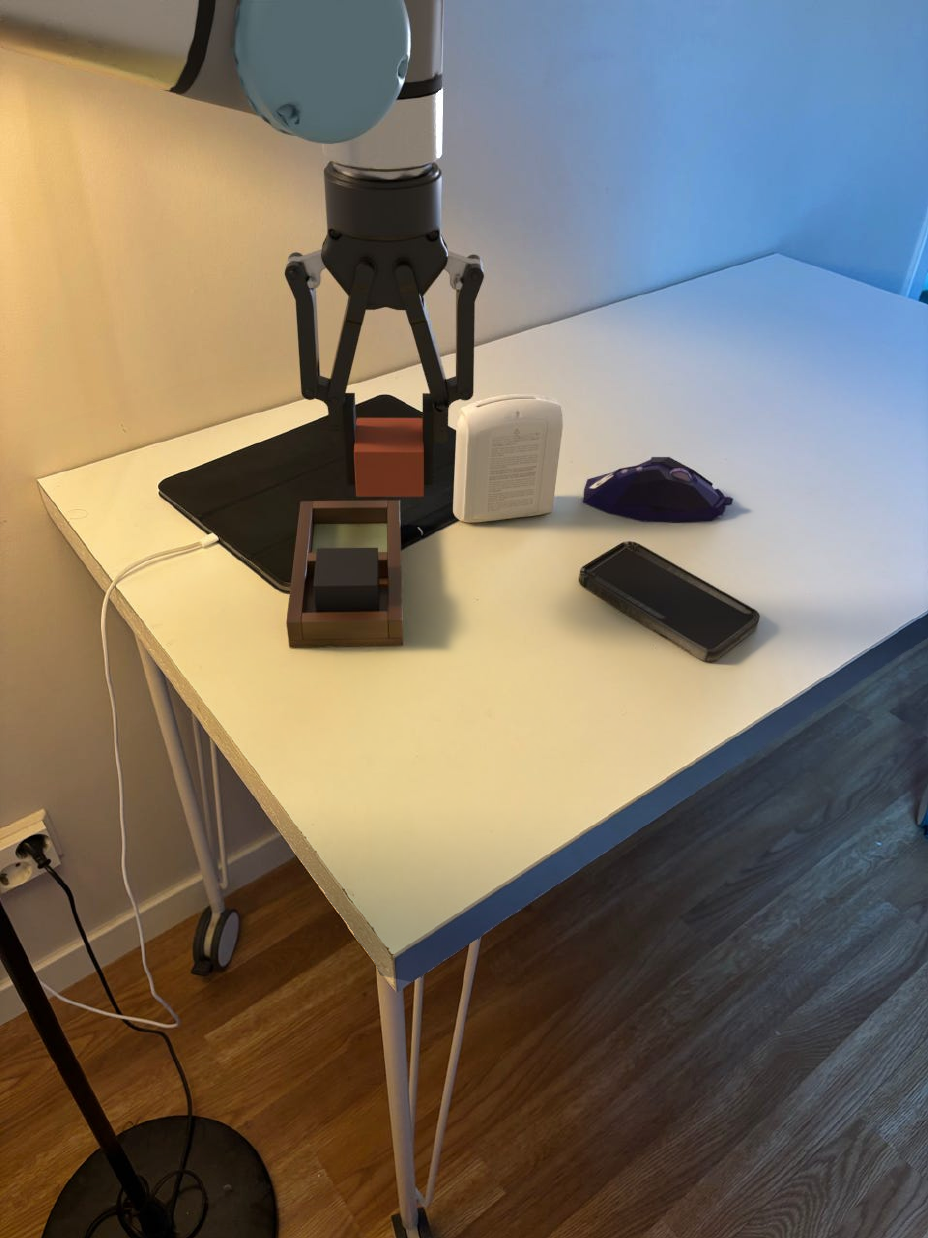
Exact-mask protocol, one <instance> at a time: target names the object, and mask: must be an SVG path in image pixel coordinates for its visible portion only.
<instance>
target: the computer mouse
mask: <svg viewBox="0 0 928 1238" xmlns="http://www.w3.org/2000/svg"><path fill="white" fill-rule="evenodd" d="M713 485H714V483H713V482H711V481H710V480H708V478H706V477H704V476H703V475H702V474H700V473H699V472H698V471H696V470H695V469H694V468H693V469H692V468H691V467H689V466H687V465H685V464H683V463H681V462H680V461H678V460H676V459H674V458H672V457H670V456H651V458H650V459H648V460H646V461H643V462H641V463H639V464H637V465H633V466H627V467H621V468H619V469H616V470H614V471H611V472H608V473H604V474H601V475H598V476H594V477H591V478H587V479H586V483H585V485H584V489H583V497H582V503H584V504H586V505H589V506H590V507H592V508H595V509H598V510H600V511H602V512H605V513H607V514H611V515H615V516H619V517H623V518H628V519H632V520H635V521H640V522H650V523H651V522H653V523H654V522H655V523H674V524H675V523H694V522H710V521H711V522H712V521H713V520H716V519H717V518H719V517H723V515H724V513H725V511H726V507H727V506H733V505H732V504H733V501H734V498H733V497H731V496H725V494H724V493H723V492H722V490H720V489H719V488H714V487H713Z"/></svg>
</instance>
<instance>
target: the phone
mask: <svg viewBox="0 0 928 1238" xmlns="http://www.w3.org/2000/svg"><path fill="white" fill-rule="evenodd" d="M578 583H579V585H580V586H581V587H582V588H584V589H586V590H587V591H589V592H590V593H592V594H593V595H595V596H596V597H599V598H600V599H601V600H604V601H605V602H606V603H608V604H610V605H612V606H613V607H614V608H617V609H618V610H619V611H621V612H622V613H624V614H626V615H627V616H629V617H631V618H632V619H634V620H636V621H637V622H638V623H640V624H642V625H644V626H645V627H647V628H648V629H649V630H651V631H653V632H655V633H656V634H658V635H659V636H661V637H662V638H664V639H666V640H668V641H669V642H671V643H672V644H674V645H676V646H678V647H679V648H680V649H682V650H684V651H685V652H686V653H689V654H690V655H692V656H693V657H695V658H696V659H698V660H700V661H702V662H708V663H712V662H716V661H718V660H720V659H721V658H722V657H723V656H724V655H726V654H727V653H729V652H730V651H731V650H732V649H734V648H735V647H736V646H737V645H738V644H740V643H741V642H742V641H744V640H746V639H747V637H749V636H750V635H752V634H753V633H754V632H755V631H756V630H757V629H758V625H759V622H760V618H761V615H760V613H759V612H758V610H756V609H755V608H753V607H751V606H749V604H746V603H744V602H743V601H741V600H739V599H737V598H736V597H734V596H732V595H730V594H728V593H727V592H725V591H723V590H721V589H720V588H718V587H716V586H714V585H713V584H711V583H709V582H707V581H705V580H704V579H702V578H700V577H698V576H697V575H695V574H693V573H692V572H690V571H688V570H687V569H685V568H682V566H679V565H677V564H675V563H674V562H672V561H670V560H668V559H667V558H665V557H663V556H661V555H660V554H658V553H656V552H654V551H653V550H651V549H649V548H647V547H645V546H644V545H642V544H640V543H638V542H636V541H631V540H629V541H628V540H625V541H622V542H620V543H618V544H617V545H616V546H614V547H612V548H611V549H609V550H607V551H606V552H604V553H602V554H601V555H599V556H597V557H596V558H594V559H592V560H591V561H589V562H587V563H585V564H583V566H582V567H580V568H579V575H578Z"/></svg>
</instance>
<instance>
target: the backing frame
mask: <svg viewBox="0 0 928 1238" xmlns="http://www.w3.org/2000/svg"><path fill="white" fill-rule="evenodd" d="M401 527H402V526H401V500H395V499H394V500H385V499H384V500H308V501H307V500H303V501H302V500H301V501H300V504H299V512H298V520H297V529H296V536H295V537H296V538H295V546H294V553H293V554H294V555H293V563H292V571H291V579H290V587H289V597H288V605H287V613H286V621H285V622H286V623H285V624H286V630H287V637H288V638H287V639H288V647H289V648H330V647H331V648H332V647H333V648H335V647H336V648H337V647H380V646H381V647H382V646H383V647H385V646H403V645H404V620H403V619H404V618H403V617H404V616H403V577H402V576H403V575H402V574H403V573H402V569H403V568H402V532H401V531H402V530H401ZM317 548H378V565H379V611H378V612H322V613H316V609H315V598H314V587H313V585H314V574H315V563H316V552H317Z"/></svg>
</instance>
